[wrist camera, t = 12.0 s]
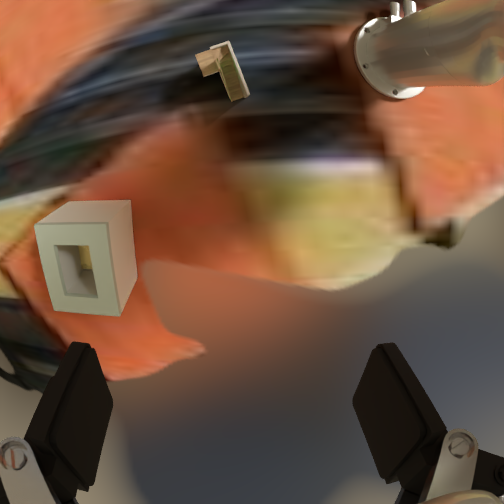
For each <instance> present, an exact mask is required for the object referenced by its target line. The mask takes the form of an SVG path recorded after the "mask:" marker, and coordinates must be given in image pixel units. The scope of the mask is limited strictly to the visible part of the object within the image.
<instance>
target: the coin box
mask: <svg viewBox="0 0 504 504" xmlns="http://www.w3.org/2000/svg"><path fill="white" fill-rule="evenodd" d="M34 228H35V234H36V239H37V244H38V249H39V254H40V259H41V263H42V267H43V272H44V276H45V280H46V284H47V287H48V291H49V295H50V298H51V302H52V305H53V309H54V311H63V312H73V313H83V314H94V315H107V316H121V313H122V311H123V309H124V307H125V304H126V302H127V300H128V298H129V295H130V293H131V291H132V289H133V287H134V285H135V283H136V280H137V278H138V275H137V266H136V257H135V247H134V236H133V224H132V209H131V200H94V201H69V202H67V203H66V204H64V205H63V206H61V207H59V208H58V209H56V210H55V211H54V212H52V213H51V214H49V215H48V216H46V217H45V218H43V219H42V220H40V221H39V222H38V223H36V224H35V225H34ZM78 245H88V246H89V250H90V256H91V262H92V268H93V269H82V267H81V261H80V255H79V249H78Z"/></svg>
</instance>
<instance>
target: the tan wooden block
mask: <svg viewBox="0 0 504 504" xmlns="http://www.w3.org/2000/svg"><path fill="white" fill-rule="evenodd" d="M78 249H79V255H80V261H81V267H82V269H93V268H92V262H91V256H90V250H89V246H88V245H78Z"/></svg>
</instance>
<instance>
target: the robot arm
mask: <svg viewBox="0 0 504 504" xmlns="http://www.w3.org/2000/svg"><path fill="white" fill-rule="evenodd" d="M390 11H391V15H389V17H380V18H375V19H372V20H370V21H368V22H367V23H365V24H364V25H363V26H362V27H361V28H360V29H359V31H358V33H357V35H356V37H355V41H354V55H355V60H356V63H357V66H358V68H359V70H360V72H361V74H362V76H363V77H364V78H365V80H366V81H367V82H368V83H369V84H370V85H371V86H372V87H373V88H374V89H375V90H377V91H378V92H379V93H381V94H383V95H385V96H388V97H391V98H396V99H407V98H412V97H414V96H416V95H418V94H419V93H421V92H422V91H423V90H424V89H425V87H436V86H488V85H492V84H494V83H496V82H497V81H499V80H500V79H501V78H502V77H503V76H504V0H447V1H444V2H441V3H438V4H436V5H433V6H430V7H428V8H425V9H423V10H420V11H417V12H416V3H415V2H413V1H410V0H405V1H403V11H404V17H403V18H401V17H400V14H399V12H400V4H399V3H397V2H390ZM365 32H366V33H365ZM363 66H364V67H365V68H364V67H363ZM392 91H393V92H392ZM353 407H354V409H355V412H356V414H357V417H358V420H359V422H360V425H361V427H362V430H363V433H364V435H365V438H366V440H367V443H368V446H369V448H370V451H371V453H372V456H373V459H374V462H375V464H376V467H377V470H378V472H379V475H380V477H381V478H383V479H385V481H386V484H390V483H392V482H396V481H399V482H400V484H401V489H400V492H399V494H398V496H397V498H396V501H395V503H394V504H504V458H503V457H500V456H497V455H494V454H491V453H488V452H486V451H483V450H480V449H478V443H477V440H476V438H475V437H474V435H473V434H471V433H470V432H469V431H467V430H465V429H453V430H451V431H449V432H448V431H447V430H446V426H445V424H444V423H443V421H442V419H441V418H440V416H439V414H438V412H437V411H436V409H435V407H434V405H433V404H432V402H431V400H430V399H429V397H428V395H427V394H426V392H425V390H424V389H423V387H422V385H421V384H420V382H419V380H418V379H417V377H416V376H415V374H414V372H413V371H412V369H411V367H410V366H409V365H408V363H407V361H406V360H405V358H404V357H403V355H402V353H401V352H400V350H399V349H398V347H397V346H396V344H395V343H384V344H378V345H377V346H376V348H375V349H373V350H372V352H371V355H370V357H369V360H368V362H367V365H366V368H365V370H364V373H363V375H362V377H361V380H360V382H359V385H358V387H357V389H356V392H355V394H354V396H353ZM112 408H113V399H112V396H111V394H110V391H109V389H108V386H107V383H106V380H105V377H104V375H103V372H102V369H101V366H100V363H99V360H98V357H97V354H96V351H95V349H94V348H91V346H90V344H88V343H81V342H72V343H71V344H70V346H69V348H68V350H67V352H66V354H65V356H64V358H63V360H62V362H61V364H60V366H59V368H58V370H57V372H56V374H55V376H53V377H52V378H51V379H50V381H49V383H48V385H47V387H46V389H45V391H44V393H43V395H42V398H41V400H40V402H39V404H38V407H37V409H36V411H35V413H34V415H33V418H32V420H31V423H30V425H29V427H28V430H27V432H26V434H25V437H24V439H21V438H19V437H9V438H6V439H4V440H2V441H1V442H0V504H79V503H78V502H77V500H76V498H75V497H76V493H77V489H79V490H83V491H86V492H88V490H89V486H92V485H93V484H94V482H95V477H96V473H97V469H98V464H99V460H100V455H101V451H102V446H103V443H104V439H105V435H106V430H107V427H108V423H109V419H110V416H111V412H112Z"/></svg>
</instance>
